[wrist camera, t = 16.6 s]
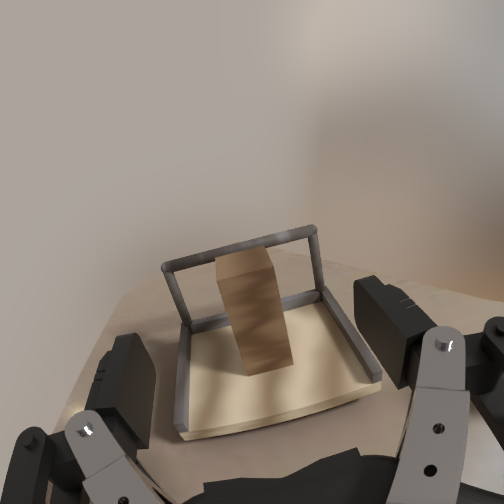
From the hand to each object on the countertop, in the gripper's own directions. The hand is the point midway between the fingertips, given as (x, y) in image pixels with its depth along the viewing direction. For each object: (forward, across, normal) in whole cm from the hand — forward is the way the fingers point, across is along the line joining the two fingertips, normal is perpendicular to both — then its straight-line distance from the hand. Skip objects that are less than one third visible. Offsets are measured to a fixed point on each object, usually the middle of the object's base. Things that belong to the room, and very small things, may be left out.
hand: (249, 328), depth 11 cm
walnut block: (+17, -1, +18) cm, 25 cm away
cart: (+17, -1, +21) cm, 27 cm away
